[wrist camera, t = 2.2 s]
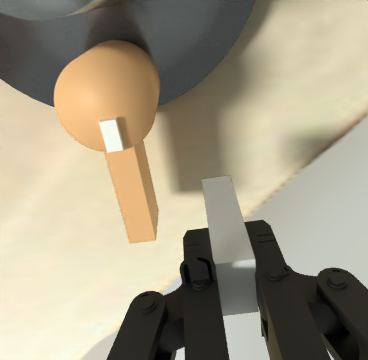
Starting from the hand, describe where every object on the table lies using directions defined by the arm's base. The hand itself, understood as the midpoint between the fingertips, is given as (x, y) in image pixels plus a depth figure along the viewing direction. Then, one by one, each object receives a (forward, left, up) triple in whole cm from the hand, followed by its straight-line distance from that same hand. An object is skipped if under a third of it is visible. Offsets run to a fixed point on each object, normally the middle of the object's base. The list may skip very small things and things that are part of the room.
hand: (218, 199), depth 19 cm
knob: (0, -6, -5) cm, 7 cm away
